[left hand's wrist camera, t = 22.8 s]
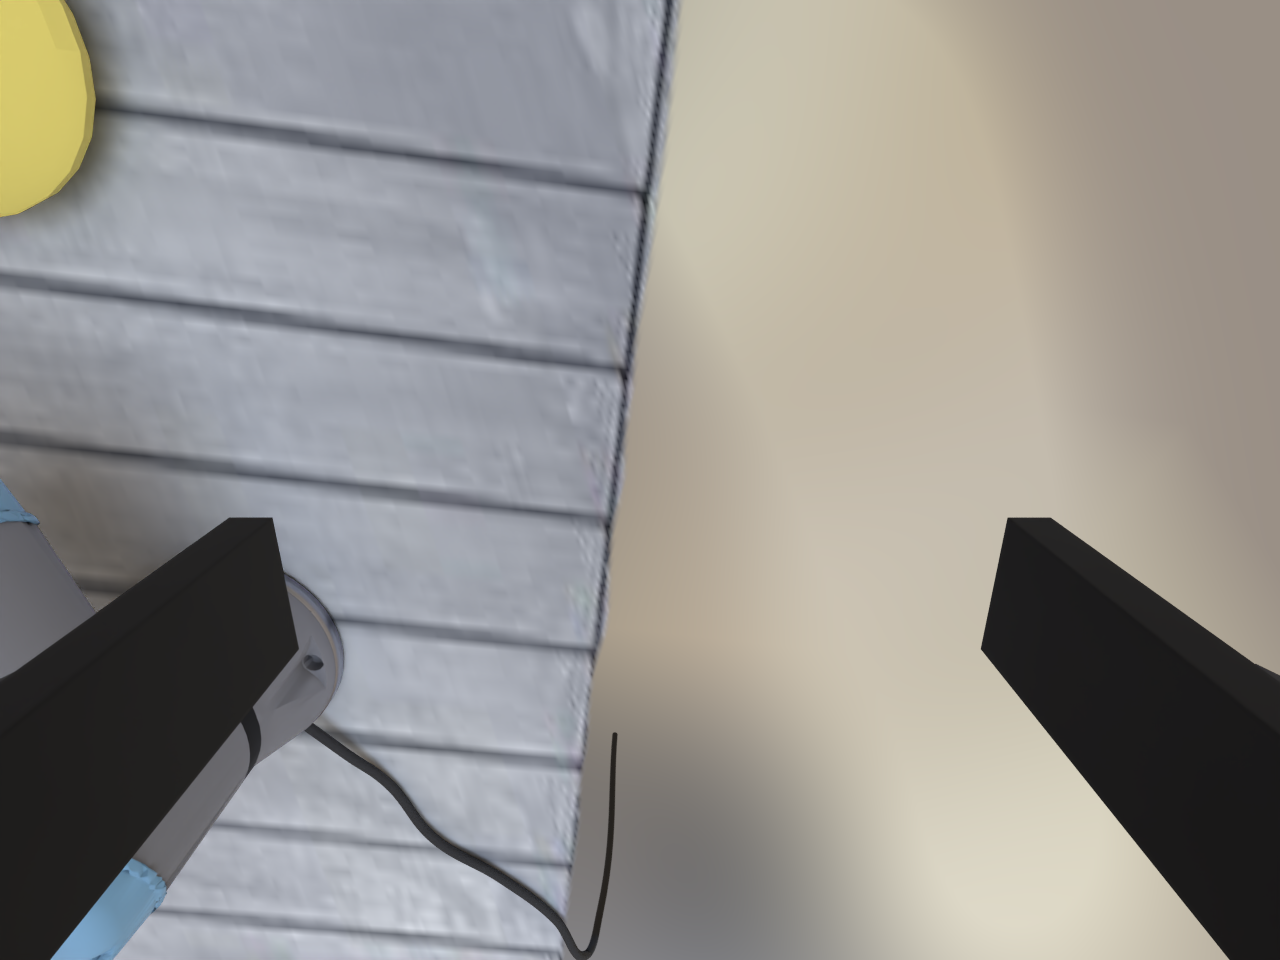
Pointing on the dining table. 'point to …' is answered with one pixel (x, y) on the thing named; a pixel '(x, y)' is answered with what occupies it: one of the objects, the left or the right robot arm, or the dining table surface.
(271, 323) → the dining table surface
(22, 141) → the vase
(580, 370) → the dining table surface
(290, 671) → the left robot arm
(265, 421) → the dining table surface
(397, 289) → the dining table surface
